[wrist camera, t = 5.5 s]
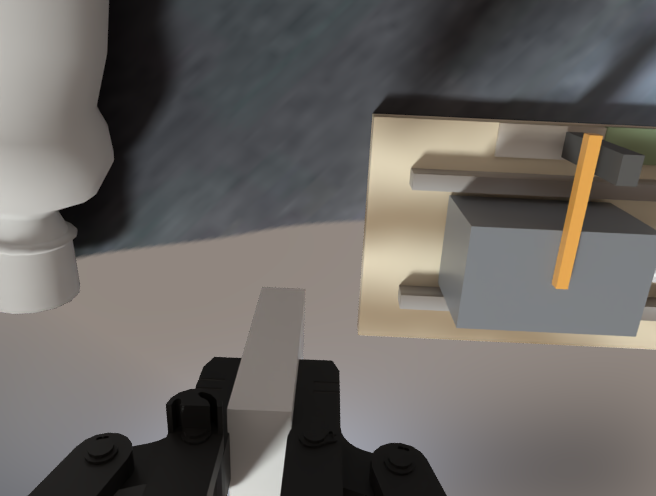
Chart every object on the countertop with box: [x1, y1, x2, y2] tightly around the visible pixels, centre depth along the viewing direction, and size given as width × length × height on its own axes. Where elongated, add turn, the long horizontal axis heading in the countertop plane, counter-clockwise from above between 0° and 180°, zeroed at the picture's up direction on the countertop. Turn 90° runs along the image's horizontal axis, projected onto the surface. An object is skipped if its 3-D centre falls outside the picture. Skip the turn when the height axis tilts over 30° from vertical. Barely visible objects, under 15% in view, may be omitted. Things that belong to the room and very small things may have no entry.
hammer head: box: [561, 132, 645, 187], centre depth 23 cm, size 1×1×5 cm
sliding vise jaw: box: [438, 133, 656, 337], centre depth 24 cm, size 9×16×5 cm, turn 88°
